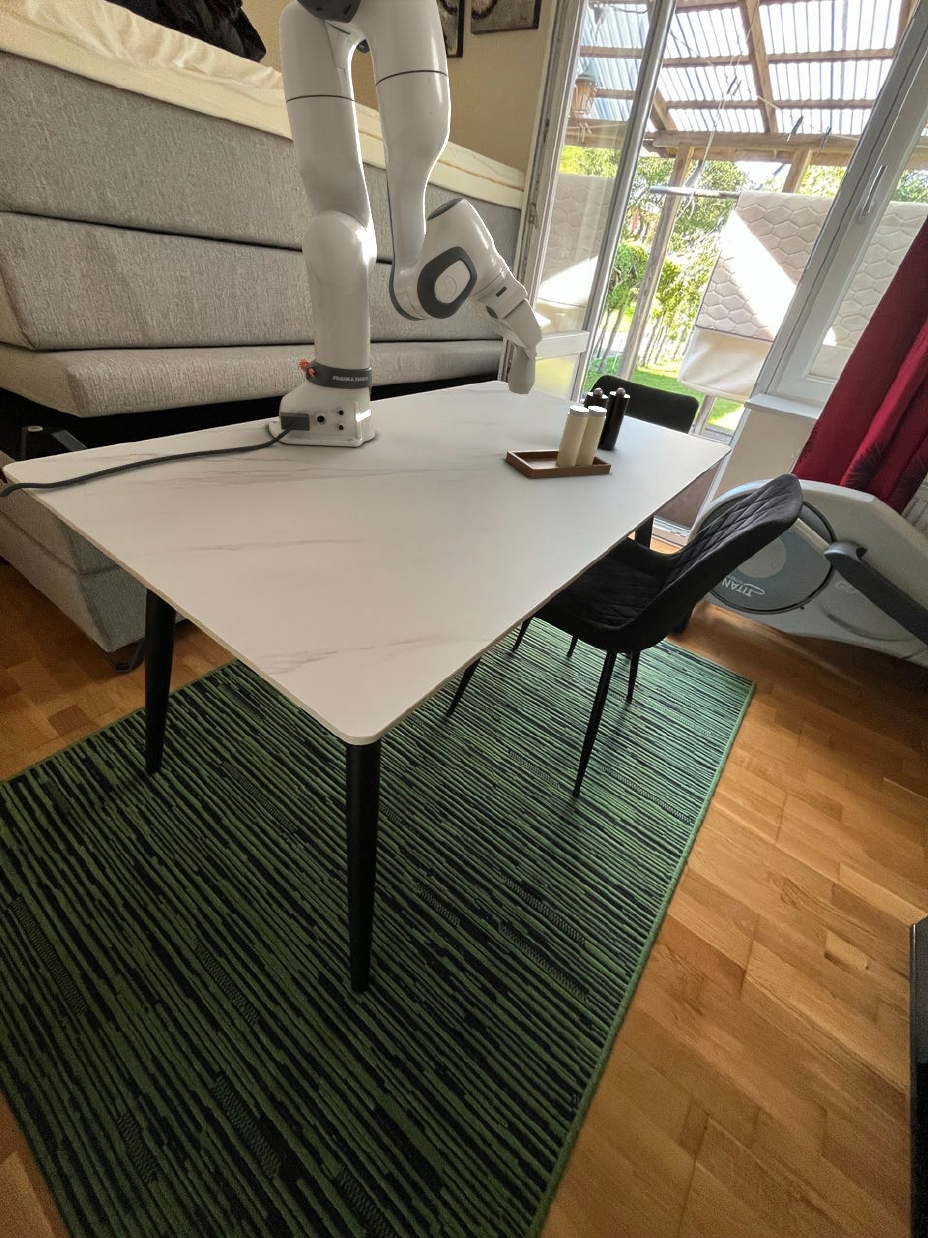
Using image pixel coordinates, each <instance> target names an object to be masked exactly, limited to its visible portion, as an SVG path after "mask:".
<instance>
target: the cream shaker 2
mask: <svg viewBox="0 0 928 1238" xmlns="http://www.w3.org/2000/svg"><path fill="white" fill-rule="evenodd" d="M588 410H589V413H588V420H587V423H586V427H585V431H584V435H583V438H582V442H581V446H580V449H579V453H578V457H577V460H576V465H579V466H580V465H592V463H593V460H594V457H595V456H596V453H597V449H598V448H597V446H598V443H599V439H600V436H601V433H602V429H603V426H604V422H605V419H606V416H605V415H606V412H607V410H605V409H603V408H600V407H595V406H590V407H589V408H588Z"/></svg>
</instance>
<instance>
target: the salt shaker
mask: <svg viewBox="0 0 928 1238" xmlns="http://www.w3.org/2000/svg"><path fill="white" fill-rule="evenodd" d="M540 327H541V330H542V331H543V329H542V326H541V325H540ZM534 349H535V351H536V352H537V345H536V346H535V347H534ZM536 357H537V356H536ZM536 357H535V358H534V359H533V360H529V359H528V357H527V356H526V355H525V353H524V350H523V348H522V347H521V346H519V345H518V348H517V350H516V351H515V354H514V357H513V360H512V363H511V366H510V369H509V371H508V374H507V385H508V390H509V391H510V392H511V393H514V394H518V395H528V394H529V393H530V391H531V389H532V388H533V387H534V385H535V383H536V359H537V358H536Z"/></svg>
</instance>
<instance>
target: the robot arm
mask: <svg viewBox="0 0 928 1238" xmlns="http://www.w3.org/2000/svg"><path fill="white" fill-rule="evenodd" d="M441 21H442V20H441V17H440V11H439V7H438V3H437V0H292V1H290V2H289V3H288V4H287V5H285V7H284V8H283V9H282V11H281V13H280V16H279V20H278V43H279V58H280V59H279V61H280V69H281V70H280V71H281V78H282V79H281V80H282V86H283V93H284V99H285V105H286V111H287V116H288V117H287V118H288V122H289V128H290V135H291V140H292V145H293V151H294V157H295V162H296V167H297V171H298V174H299V176H300V178H301V181H302V184H303V188H304V191H305V194H306V197H307V201H308V204H309V209H310V212H311V215H312V218H311V219H310V221H309V222H308V223H307V224H306V226H305V229H304V231H303V234H302V239H301V251H302V256H303V259H304V261H305V267H306V268H305V269H306V277H307V285H308V290H309V296H310V302H311V309H312V316H313V317H312V318H313V319H312V320H313V341H314V359H313V360H312V361H310V362H309V361H308V360H307V359H305V358H302V359H300V361H299V362H298V366H299V368H300V370H302V371H303V372H304V373H305V374H304V375H305V380H304V381H302V382H301V383H299V384H298V385H297V386H296V387H294V388H293V389H292V390H290V391H289V392H288V393H286V394H285V395H283V397H282V399H281V400H280V404H279V410H278V411H279V412H278V417H276V418H271V420H269V423H268V430H269V433H270V434H271V436H273V439H271V440H269V441H266V442H263V443H259V444H254V445H245V446H236V447H229V448H220V449H209V450H200V451H193V452H186V453H178V454H172V455H165V456H160V457H153V458H150V459H149V458H148V459H145V460H140V461H135V462H131V463H126V464H123V465H118V466H114V467H110V468H106V469H103V470H98V471H95V472H91V473H88V474H84V475H80V476H76V477H72V478H68V479H65V480H64V479H63V480H60V481H55V482H18V483H13V484H11V485H9V486H7V487H5V488H4V489H3V490H2V491H1V492H0V498H7V497H8V496H10V494H12V493H13V492H15V491H17V490H22V489H38V490H39V489H41V490H48V489H57V488H62V487H68V486H71V485H75V484H79V483H82V482H85V481H89V480H92V479H96V478H99V477H103V476H108V475H111V474H115V473H119V472H123V471H126V470H130V469H131V470H132V469H135V468H140V467H144V466H148V465H149V466H150V465H153V464H158V463H164V462H169V461H174V460H182V459H189V458H196V457H203V456H211V455H212V456H213V455H214V456H215V455H222V454H224V455H225V454H231V453H237V452H246V451H255V450H259V449H263V448H267V447H269V446H272V445H274V444H276V443H277V442H281V443H284V444H288V445H289V444H290V445H307V446H308V445H309V446H332V447H360V446H361V445H363V443H365V442H367V441H370V440H372V439H373V438H375V436H376V431H375V428H374V422H373V417H372V416H373V415H372V408H371V394H372V386H373V374H372V366H371V330H372V329H371V327H372V326H371V325H372V324H371V316H370V306H369V283H368V282H369V281H368V277H369V276H370V274H371V273H372V272H373V270H374V268H375V266H376V262H377V257H378V249H377V241H376V234H375V227H374V222H373V217H372V210H371V204H370V199H369V198H370V197H369V193H368V188H367V184H366V177H365V172H364V165H363V158H362V150H361V142H360V134H359V125H358V118H357V117H358V116H357V109H356V102H355V93H354V87H353V78H352V58H353V55H354V52H355V51H356V50H357V51H358V52H360V53H362V54H368V53H370V58H371V62H372V63H371V64H372V70H373V79H374V87H375V93H376V101H377V107H378V109H377V110H378V115H379V121H380V122H379V123H380V130H381V137H382V143H383V154H384V155H383V156H384V164H385V175H386V178H385V179H386V193H387V204H388V214H389V215H388V217H389V225H390V235H391V237H390V238H391V248H392V260H391V261H392V262H391V268H390V274H389V278H388V295H389V298H390V299H389V300H390V301H391V304H392V306H393V308H394V309H395V311H396V312H397V313H398V314H399V315H400V316H401V317H402V318H404V319H406V320H408V321H412V322H419V321H425V320H429V321H430V320H431V321H432V320H445V319H448V318H451V317H452V316H454V315H456V314H457V312H458V311H459V310H460V308H461V307H462V306H463V304H464V303H465V301H466V300H467V301H468V302H469V303H470V305H471V307H472V308H473V310H474V312H475V313H476V315H477V317H478V318H480V319H484V320H485V321H486V323H487V325H488V327H489V328H490V329H491V331H492V332H493V333H495V334H497V335H499V336H500V337H502V338H504V339H507V340H508V341H509V342H510V344H511V345H512V346H513V347H514V348H515V350H516V351H517V348H518V345H519V346H521V347H522V348H523V350H524V353H525V355H526V356H527V357H528V359H529V360H533V359H534V358H535V357H537V356H538V352H537V350H536V351H535V349H534V347H535V346H536V347H537V345H539V344H540V343H541V342H542V341H543V339H544V333H543V329H542V330H541V327H542V326H541V324H540V323H539V320H538V319H537V316H536V314H535V312H534V310H533V308H532V306H531V304H530V303H529V300H528V299H526V298H527V297H528V292H527V290H526V288H525V286H524V285H523V284H522V283H521V282H519V281H518V280H517V279H516V278H515V277H514V275H513V273H512V271H510V269H509V267H508V265H507V263H506V261H505V259H504V258H503V257H502V256H501V255H500V254H499V253H498V251H497V249H496V246H495V243H494V238H493V237H492V235H491V233H490V232H489V229H488V228H487V227H486V225H485V223H484V221H483V219H482V218H481V216H480V215H479V213H478V212H477V210H476V209H475V208H474V206H473V205H472V203H470V201H468V200H467V199H466V198H462V197H457V198H453V199H451V200H448V201H447V202H445V203H443V204H441V205H440V206H438V207H437V208H435V209H434V210H433V211H432V212H431V213H430V214H429V215H428V217H427V218H426V216H425V215H426V214H425V213H426V212H425V194H426V190H427V189H426V188H427V184H428V181H429V178H430V176H431V173H432V171H433V169H434V167H435V165H436V163H437V161H438V159H439V158H440V156H441V155H442V153H443V151H444V149H445V147H446V146H447V143H448V140H449V136H450V128H451V127H450V124H451V92H450V81H449V70H448V61H447V53H446V45H445V40H444V33H443V26H442V22H441ZM540 326H541V327H540Z"/></svg>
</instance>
